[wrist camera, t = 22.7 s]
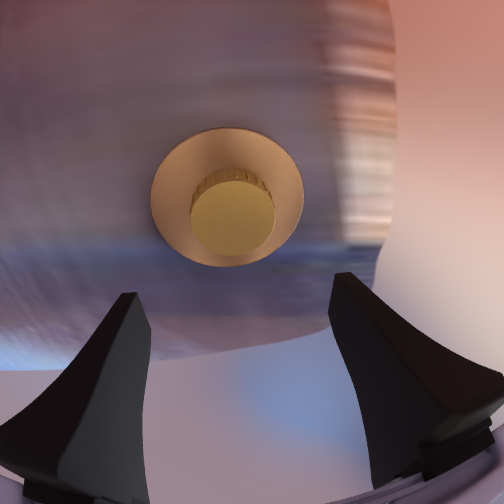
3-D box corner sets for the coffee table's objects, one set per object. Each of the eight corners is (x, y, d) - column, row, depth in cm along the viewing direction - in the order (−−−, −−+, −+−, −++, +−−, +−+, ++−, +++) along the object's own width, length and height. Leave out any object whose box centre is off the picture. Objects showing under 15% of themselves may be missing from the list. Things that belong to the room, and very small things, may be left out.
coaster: (185, 278, 21) (185, 282, 20) (127, 159, 15) (125, 161, 15) (313, 241, 20) (314, 244, 20) (283, 107, 15) (285, 108, 15)
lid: (270, 236, 19) (275, 254, 17) (195, 241, 19) (193, 259, 17) (272, 165, 16) (278, 177, 15) (187, 170, 16) (184, 182, 14)
